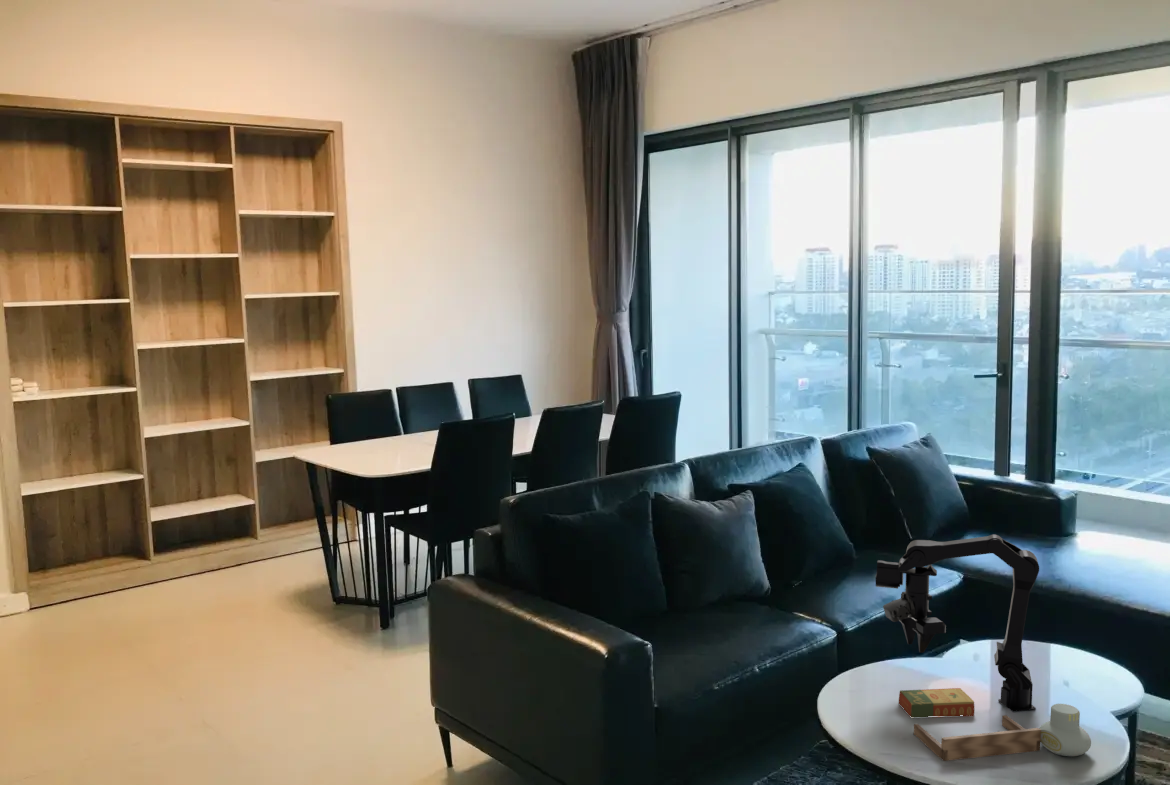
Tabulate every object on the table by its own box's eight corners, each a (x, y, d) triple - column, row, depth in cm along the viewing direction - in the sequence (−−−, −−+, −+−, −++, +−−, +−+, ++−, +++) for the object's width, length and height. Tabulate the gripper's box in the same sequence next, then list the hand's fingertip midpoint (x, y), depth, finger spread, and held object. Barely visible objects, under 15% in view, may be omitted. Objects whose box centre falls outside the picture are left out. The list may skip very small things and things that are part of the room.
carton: (974, 717, 235) (975, 701, 235) (910, 720, 234) (911, 703, 234) (960, 702, 243) (960, 686, 243) (898, 705, 243) (898, 688, 242)
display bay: (1005, 725, 230) (1006, 705, 230) (1040, 750, 217) (1041, 729, 217) (913, 734, 226) (914, 714, 226) (943, 760, 213) (943, 739, 213)
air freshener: (1097, 758, 214) (1099, 715, 213) (1069, 765, 211) (1071, 721, 210) (1057, 736, 224) (1059, 696, 223) (1030, 743, 221) (1032, 702, 220)
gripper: (871, 581, 254) (870, 637, 256) (906, 604, 235) (904, 664, 237) (909, 578, 256) (908, 634, 257) (947, 600, 237) (946, 661, 239)
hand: (915, 648), depth 248 cm, fingers open, 6 cm apart
